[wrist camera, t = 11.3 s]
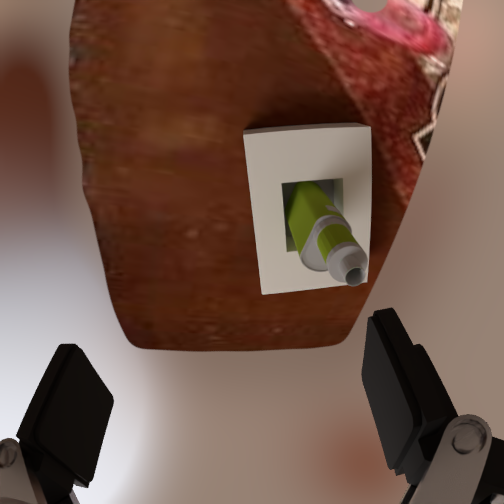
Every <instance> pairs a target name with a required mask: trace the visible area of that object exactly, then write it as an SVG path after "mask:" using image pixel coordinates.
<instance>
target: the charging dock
mask: <svg viewBox="0 0 504 504" xmlns="http://www.w3.org/2000/svg"><path fill="white" fill-rule="evenodd" d="M243 136H244V145H245V153H246V162H247V170H248V178H249V187H250V195H251V204H252V212H253V221H254V229H255V238H256V247H257V255H258V264H259V273H260V281H261V290H262V295H263V294H273V293H282V292H291V291H300V290H308V289H317V288H325V287H333V286H341V285H348V284H347V283H344V282H338V281H336V280H335V279H333V278H332V276H331V275H330V273H329V271H326V272H315V271H312V270H309V269H307V268H306V267H305V266H304V265H303V264H302V262H301V260H300V257H299V254H298V251H297V248H296V245H295V242H294V239H293V236H292V233H291V230H290V227H289V224H288V221H287V219H286V216H285V213H284V209H285V207H286V204H287V202H288V200H289V197H290V195H291V193H292V190H293V188H294V186H295V184H296V183H297V182H299V181H313V182H315V183H316V184H318V185H319V187H320V188H321V189H322V190H323V191H324V193H325V194H326V195H327V196H328V198H329V199H330V200H331V201H332V203H333V204H334V205H335V207H336V208H337V209H338V210H339V211H340V212H341V214H342V215H343V217H344V218H345V219H346V221H347V222H348V223H349V225H350V226H351V229H352V235H353V237H354V238H355V240H356V241H357V242H358V244H359V245H360V246H361V247H362V249H363V250H364V251H365V253H366V255H367V258H368V263H369V247H370V228H371V196H372V151H371V127H369V126H366V125H363V124H359V123H356V122H352V123H323V124H305V125H291V126H278V127H267V128H257V129H248V130H244V131H243ZM365 274H366V275H365V279H364V281H363V282H367V276H368V265H367V268H366V270H365ZM363 282H362V283H363Z"/></svg>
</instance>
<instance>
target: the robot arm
mask: <svg viewBox="0 0 504 504" xmlns="http://www.w3.org/2000/svg"><path fill="white" fill-rule="evenodd" d="M362 381H363V385H364V388H365V391H366V394H367V397H368V401H369V404H370V407H371V410H372V414H373V417H374V420H375V423H376V426H377V430H378V434H379V437H380V441H381V444H382V447H383V451H384V455H385V458H386V462H387V465H388V468H389V469H390V470H392V469H395V473H396V476H397V475H401V474H404V473H405V476H406V480H407V483H409V486H408V488H407V490H406V492H405V494H404V496H403V497H402V499H401V501H400V503H399V504H504V440H501V439H498V438H495V437H492V434H491V429H490V427H489V426H488V424H487V422H485V421H484V420H483V419H482V418H480V417H478V416H476V415H470V414H467V415H461V416H458V414H457V412H456V410H455V408H454V406H453V404H452V402H451V399H450V397H449V395H448V393H447V391H446V389H445V387H444V385H443V383H442V381H441V379H440V377H439V375H438V373H437V371H436V369H435V367H434V365H433V363H432V362H431V360H430V358H429V356H428V354H427V353H426V351H425V349H424V347H423V346H422V345H420V344H416V345H413V343H412V341H411V339H410V338H409V336H408V334H407V332H406V330H405V328H404V326H403V324H402V323H401V321H400V319H399V317H398V315H397V314H396V312H395V310H394V309H393V308H387V309H382V310H377V311H374V314H373V316H371V317H369V318H368V323H367V333H366V342H365V350H364V358H363V366H362ZM113 404H114V399H113V396H112V394H111V393H110V391H109V390H108V388H107V387H106V386H105V384H104V383H103V381H102V380H101V378H100V377H99V375H98V374H97V372H96V371H95V369H94V368H93V366H92V365H91V363H90V361H89V360H88V358H87V357H86V355H85V353H84V352H83V350H82V349H81V348H79V347H78V346H77V345H76V344H60V345H59V346H58V348H57V350H56V352H55V354H54V356H53V357H52V359H51V361H50V363H49V365H48V367H47V369H46V371H45V373H44V375H43V377H42V379H41V381H40V383H39V385H38V387H37V389H36V392H35V394H34V396H33V398H32V400H31V402H30V404H29V407H28V409H27V411H26V413H25V416H24V418H23V420H22V422H21V425H20V427H19V429H18V432H17V434H16V437H17V438H19V439H20V441H19V443H18V442H17V441H16V440H14V439H12V438H7V439H3V440H2V441H0V504H80V503H79V501H78V500H77V497H76V495H75V493H74V491H73V489H72V488H73V484H75V485H76V486H81V487H85V488H88V486H89V483H90V482H91V481H92V480H93V477H94V473H95V470H96V465H97V461H98V457H99V453H100V450H101V446H102V443H103V439H104V435H105V432H106V428H107V425H108V421H109V417H110V414H111V410H112V407H113Z"/></svg>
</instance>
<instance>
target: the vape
mask: <svg viewBox="0 0 504 504" xmlns="http://www.w3.org/2000/svg"><path fill="white" fill-rule="evenodd" d="M284 213H285V216H286V219H287V221H288V224H289V227H290V230H291V233H292V236H293V239H294V242H295V245H296V248H297V251H298V254H299V257H300V260H301V262H302V264H303V265H304V266H305V267H306V268H307V269H309V270H312V271H315V272H326V271H329V273H330V275H331V276H332V278H333V279H335V280H336V281H338V282H344V283H347V284H348V285H349V286H357V285H359V284H361V283H362V282H363V281H364V279H365V275H366V274H365V270H366V268H367V265H368V258H367V255H366V253H365V251H364V250H363V249H362V247H361V246H360V245H359V244H358V242H357V241H356V240H355V238H354V237H353V235H352V229H351V226H350V225H349V223H348V222H347V221H346V219H345V218H344V217H343V215H342V214H341V212H340V211H339V210H338V209H337V208H336V207H335V205H334V204H333V203H332V201H331V200H330V199H329V198H328V196H327V195H326V194H325V193H324V191H323V190H322V189H321V188H320V187H319V185H318V184H316V183H315V182H313V181H299V182H297V183H296V184H295V186H294V188H293V190H292V193H291V195H290V197H289V200H288V202H287V204H286V207H285V209H284Z"/></svg>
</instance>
